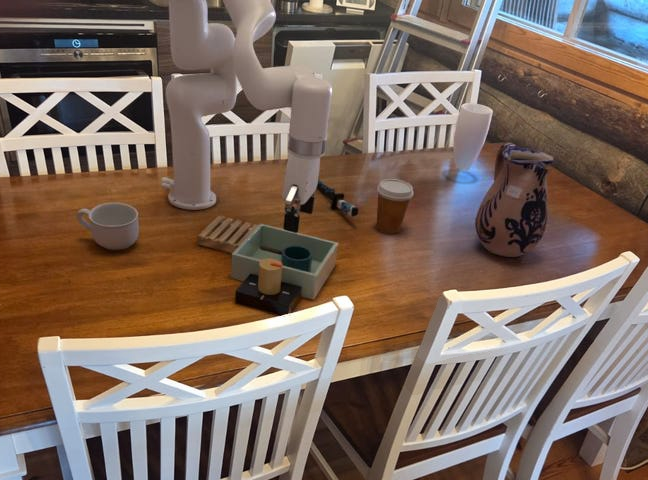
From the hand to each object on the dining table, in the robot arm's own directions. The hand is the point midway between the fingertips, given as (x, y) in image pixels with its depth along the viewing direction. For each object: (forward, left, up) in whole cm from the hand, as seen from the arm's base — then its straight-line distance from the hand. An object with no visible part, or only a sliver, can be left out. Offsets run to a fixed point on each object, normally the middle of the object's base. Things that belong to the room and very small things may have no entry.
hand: (298, 221), depth 137 cm
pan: (-2, 0, -13) cm, 13 cm away
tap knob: (-1, -13, -10) cm, 17 cm away
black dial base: (-1, -13, -13) cm, 19 cm away
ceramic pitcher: (+44, +39, -13) cm, 60 cm away
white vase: (+28, +82, -13) cm, 87 cm away
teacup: (-43, -7, -13) cm, 46 cm away
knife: (-3, +41, -13) cm, 43 cm away
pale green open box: (-2, 0, -13) cm, 13 cm away
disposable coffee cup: (+15, +34, -13) cm, 39 cm away
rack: (-19, +7, -13) cm, 24 cm away
